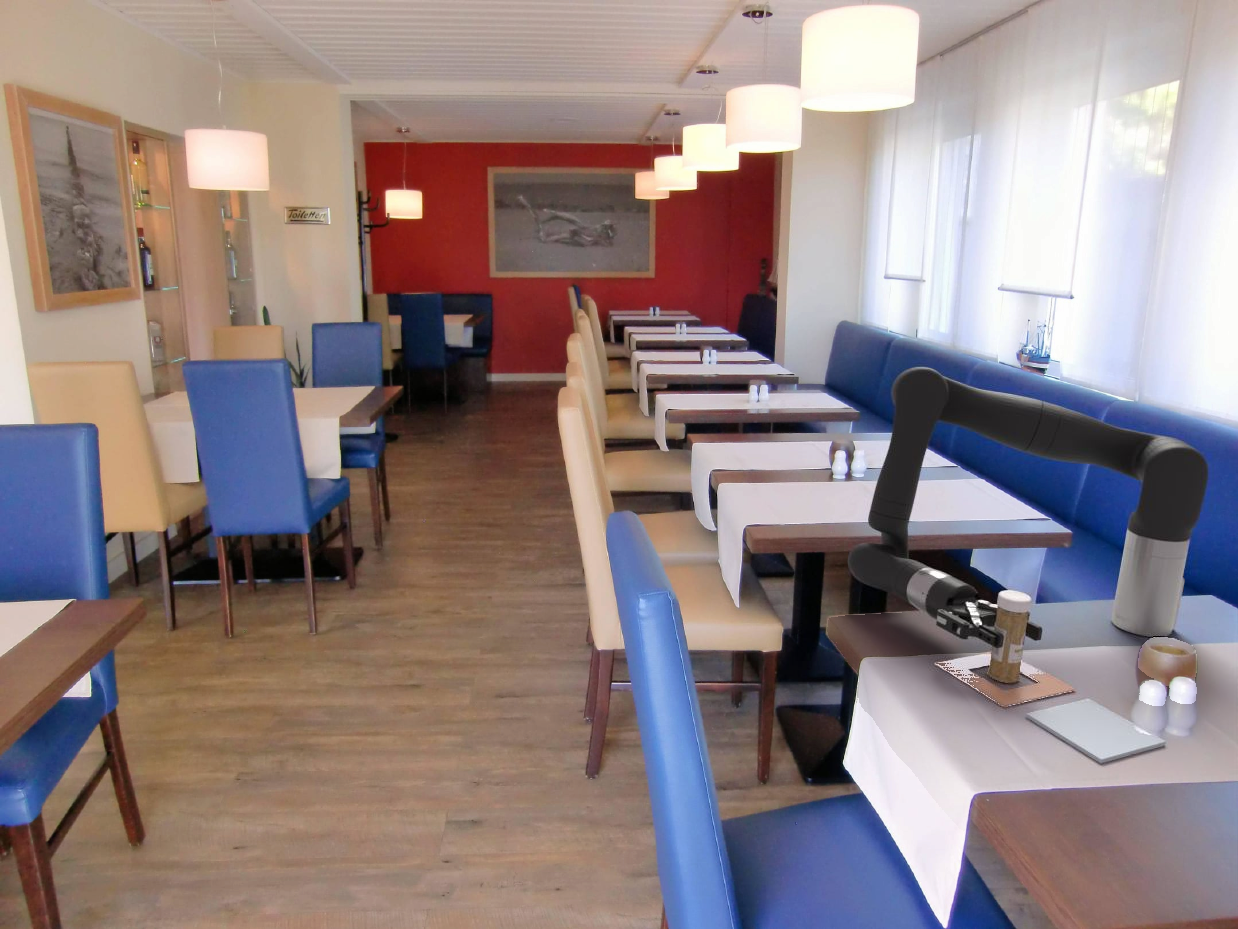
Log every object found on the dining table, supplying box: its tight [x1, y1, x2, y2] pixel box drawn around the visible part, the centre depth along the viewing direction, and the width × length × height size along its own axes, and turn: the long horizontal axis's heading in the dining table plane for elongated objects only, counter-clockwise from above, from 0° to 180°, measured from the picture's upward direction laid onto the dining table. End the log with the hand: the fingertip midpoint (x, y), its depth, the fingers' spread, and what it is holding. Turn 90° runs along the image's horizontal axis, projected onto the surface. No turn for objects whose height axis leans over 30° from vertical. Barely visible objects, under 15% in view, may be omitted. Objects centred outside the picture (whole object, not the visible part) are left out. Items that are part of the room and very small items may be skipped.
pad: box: [1025, 698, 1166, 765], centre depth 120 cm, size 12×12×1 cm
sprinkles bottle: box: [987, 589, 1032, 684], centre depth 133 cm, size 5×5×13 cm
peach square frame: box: [936, 651, 1076, 708], centre depth 135 cm, size 14×14×1 cm
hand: (1021, 638), depth 131 cm, fingers open, 7 cm apart
